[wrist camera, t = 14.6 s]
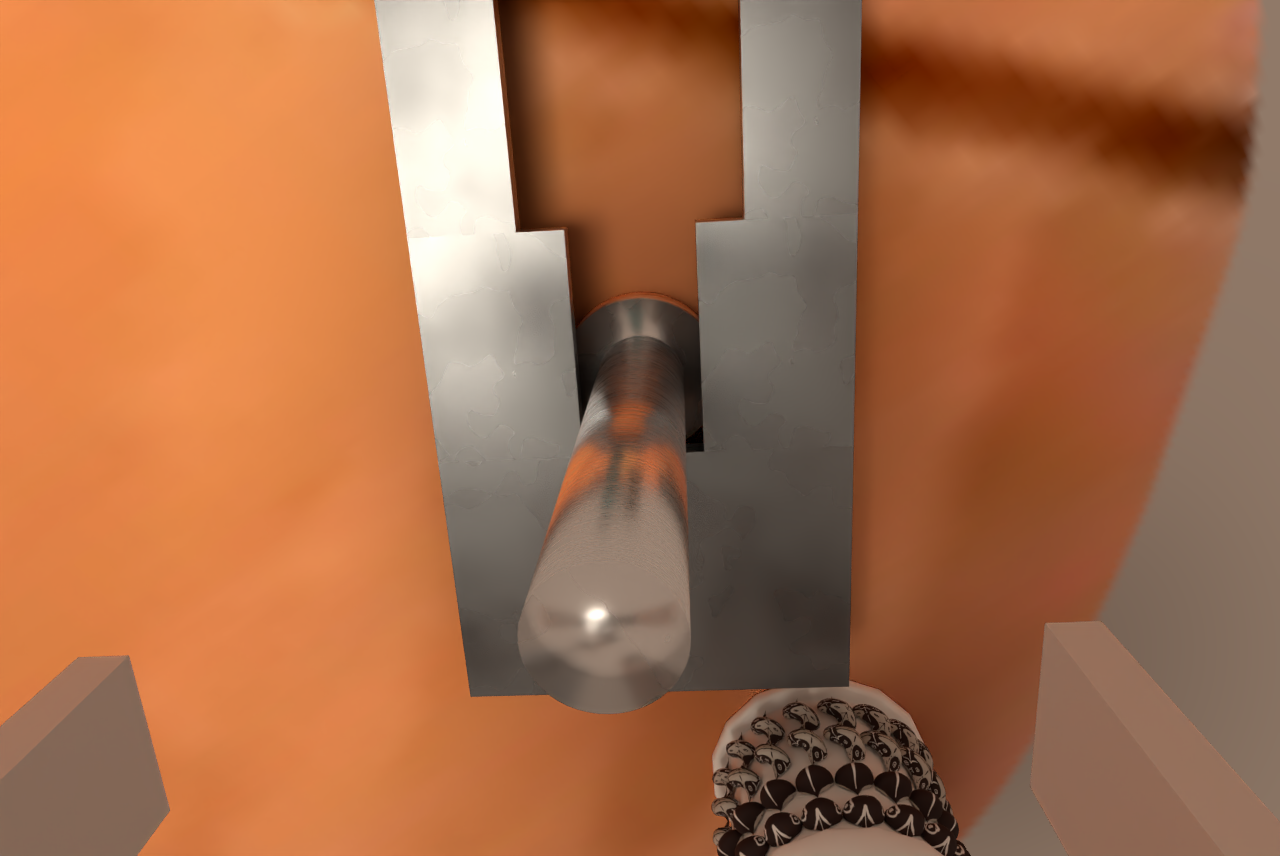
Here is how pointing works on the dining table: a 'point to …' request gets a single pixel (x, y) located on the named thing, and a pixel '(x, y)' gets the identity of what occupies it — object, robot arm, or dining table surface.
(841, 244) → the keyhole plate
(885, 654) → the dining table surface
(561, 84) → the dining table surface
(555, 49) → the dining table surface
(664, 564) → the steel peg
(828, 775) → the decorative candle
